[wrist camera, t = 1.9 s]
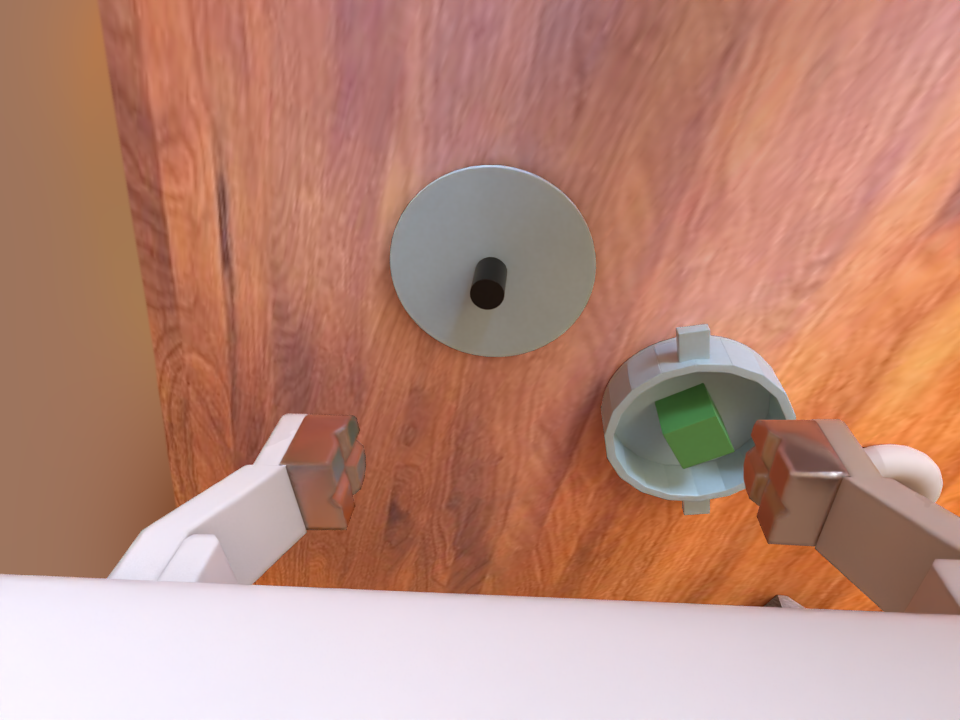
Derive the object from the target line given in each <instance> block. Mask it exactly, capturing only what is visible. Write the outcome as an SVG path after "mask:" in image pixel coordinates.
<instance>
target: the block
mask: <svg viewBox="0 0 960 720" xmlns="http://www.w3.org/2000/svg"><path fill="white" fill-rule="evenodd" d="M655 406H656V410H657V414H658V418H659V422H660V426H661V430H662V434H663V436H664V438H665V439H666V441H667V443H668V445H669V446H670V448H671V450H672V451H673V453H674V455H675V456H676V458H677V460H678V462H679V463H680V465H681V467H682V468H683V469H685V468H688V467H691V466H694V465H697V464H700V463H703V462H706V461H709V460H712V459H715V458H718V457H721V456H724V455H727V454H730V453H733V452H735V451H734V448H733V446H732V443H731V441H730V438H729V435H728V433H727V430H726V428H725V425H724V423H723V420H722V418H721V416H720V414H719V412H718V410H717V408H716V406H715V404H714V402H713V400H712V398H711V396H710V394H709V392H708V390H707V388H706V386H705V384H704V383H701V384H699V385H696V386H694V387H691V388H688V389H686V390H683V391H681V392H678V393H676V394H673V395H670V396H668V397H665V398H663V399H660V400H658V401H655Z"/></svg>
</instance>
